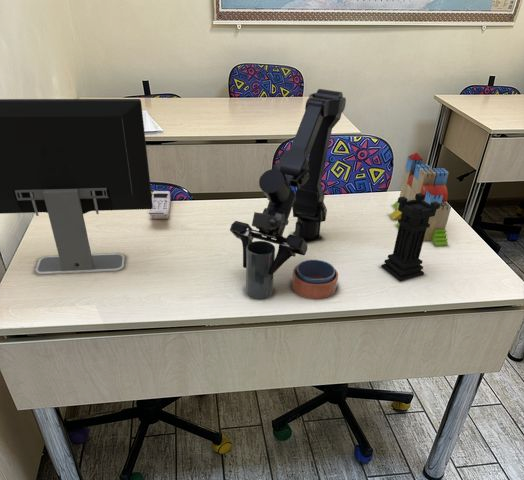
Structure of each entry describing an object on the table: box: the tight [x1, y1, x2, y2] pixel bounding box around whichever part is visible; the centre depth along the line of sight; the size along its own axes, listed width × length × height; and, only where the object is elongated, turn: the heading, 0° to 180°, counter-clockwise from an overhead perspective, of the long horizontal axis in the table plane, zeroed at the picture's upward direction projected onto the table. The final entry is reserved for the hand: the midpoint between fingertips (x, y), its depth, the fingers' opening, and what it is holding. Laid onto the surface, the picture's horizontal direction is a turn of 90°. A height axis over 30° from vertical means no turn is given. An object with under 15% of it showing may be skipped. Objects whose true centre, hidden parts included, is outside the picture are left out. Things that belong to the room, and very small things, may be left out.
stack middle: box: [296, 259, 336, 284], centre depth 129 cm, size 10×10×5 cm
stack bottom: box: [291, 263, 339, 300], centre depth 129 cm, size 11×11×4 cm
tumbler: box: [245, 240, 276, 300], centre depth 124 cm, size 7×7×12 cm
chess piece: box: [380, 193, 440, 282], centre depth 131 cm, size 8×8×20 cm
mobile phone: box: [146, 190, 171, 220], centre depth 158 cm, size 6×6×25 cm
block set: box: [389, 152, 452, 247], centre depth 153 cm, size 28×14×19 cm, turn 7°
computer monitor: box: [0, 98, 153, 275], centre depth 122 cm, size 41×8×40 cm, turn 98°
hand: (257, 271), depth 123 cm, fingers closed on tumbler, 7 cm apart
